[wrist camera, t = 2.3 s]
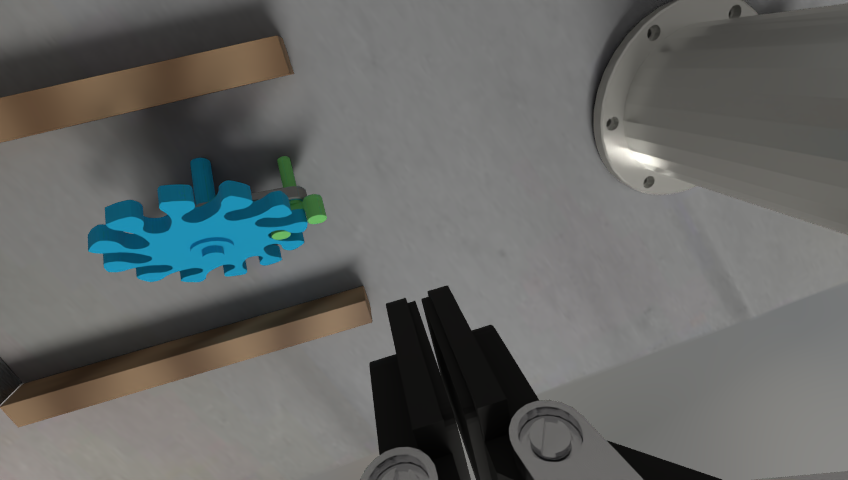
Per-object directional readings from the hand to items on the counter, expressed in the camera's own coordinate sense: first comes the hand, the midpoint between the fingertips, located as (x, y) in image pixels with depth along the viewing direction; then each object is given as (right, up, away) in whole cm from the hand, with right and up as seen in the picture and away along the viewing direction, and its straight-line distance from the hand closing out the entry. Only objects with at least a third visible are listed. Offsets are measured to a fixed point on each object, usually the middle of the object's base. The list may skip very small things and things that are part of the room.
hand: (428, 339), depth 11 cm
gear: (-12, +4, +14) cm, 19 cm away
